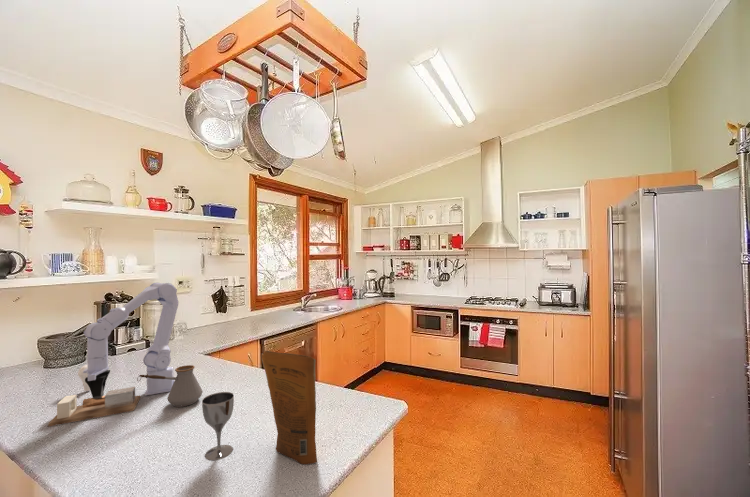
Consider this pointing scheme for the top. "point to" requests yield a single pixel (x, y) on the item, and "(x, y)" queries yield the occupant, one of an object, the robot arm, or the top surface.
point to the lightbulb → (83, 377)
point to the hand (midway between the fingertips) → (98, 394)
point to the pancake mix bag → (293, 403)
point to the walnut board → (93, 413)
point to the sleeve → (120, 397)
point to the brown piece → (94, 400)
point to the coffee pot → (182, 386)
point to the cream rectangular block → (66, 406)
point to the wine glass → (218, 420)
